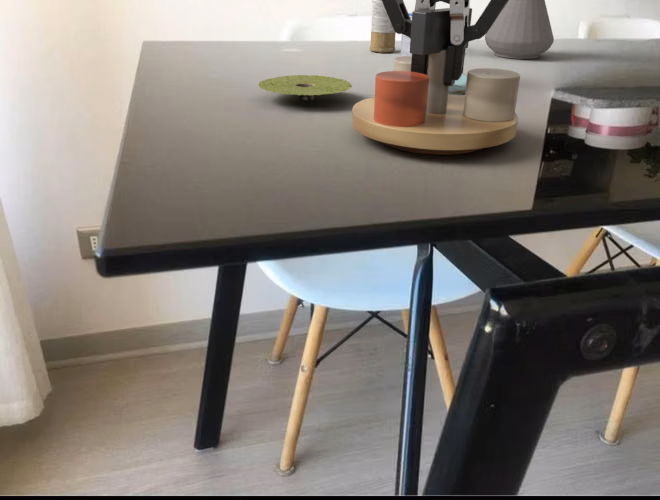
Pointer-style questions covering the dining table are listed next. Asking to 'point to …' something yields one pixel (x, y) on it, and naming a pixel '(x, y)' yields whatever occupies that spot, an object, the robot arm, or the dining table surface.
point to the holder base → (428, 151)
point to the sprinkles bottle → (381, 29)
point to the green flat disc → (305, 85)
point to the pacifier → (458, 86)
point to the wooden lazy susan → (438, 98)
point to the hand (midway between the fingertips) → (435, 82)
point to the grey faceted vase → (521, 30)
